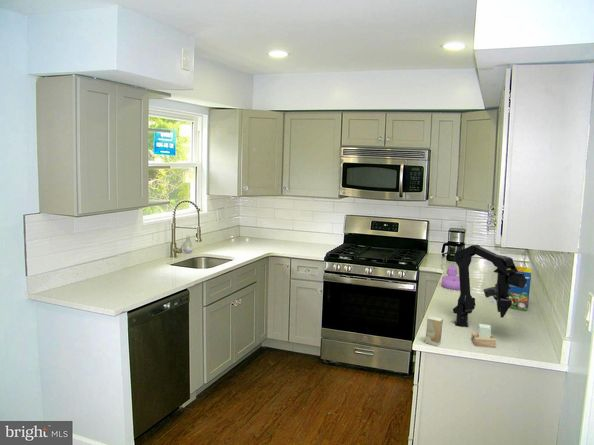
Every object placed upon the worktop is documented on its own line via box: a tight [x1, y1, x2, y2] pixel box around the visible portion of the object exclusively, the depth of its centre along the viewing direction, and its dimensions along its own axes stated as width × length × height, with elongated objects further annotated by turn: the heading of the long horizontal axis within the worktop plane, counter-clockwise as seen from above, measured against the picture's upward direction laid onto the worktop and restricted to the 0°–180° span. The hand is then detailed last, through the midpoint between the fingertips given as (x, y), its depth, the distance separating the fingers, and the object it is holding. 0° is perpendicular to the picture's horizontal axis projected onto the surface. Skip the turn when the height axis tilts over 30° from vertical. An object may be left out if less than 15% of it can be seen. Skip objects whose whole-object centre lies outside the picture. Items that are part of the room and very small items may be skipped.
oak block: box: [470, 332, 497, 349], centre depth 238 cm, size 9×9×4 cm
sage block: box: [477, 323, 492, 339], centre depth 237 cm, size 5×5×5 cm
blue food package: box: [506, 265, 532, 312], centre depth 298 cm, size 6×12×25 cm, turn 60°
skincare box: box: [424, 315, 444, 347], centre depth 235 cm, size 6×4×12 cm
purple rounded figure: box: [441, 264, 460, 291], centre depth 348 cm, size 25×15×13 cm, turn 168°
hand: (500, 314), depth 244 cm, fingers open, 9 cm apart
